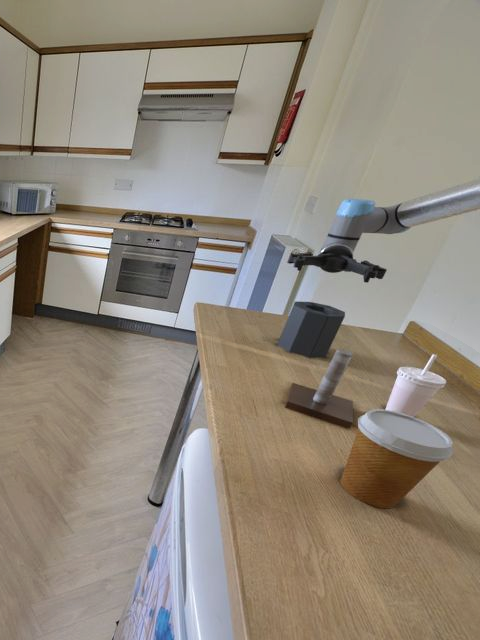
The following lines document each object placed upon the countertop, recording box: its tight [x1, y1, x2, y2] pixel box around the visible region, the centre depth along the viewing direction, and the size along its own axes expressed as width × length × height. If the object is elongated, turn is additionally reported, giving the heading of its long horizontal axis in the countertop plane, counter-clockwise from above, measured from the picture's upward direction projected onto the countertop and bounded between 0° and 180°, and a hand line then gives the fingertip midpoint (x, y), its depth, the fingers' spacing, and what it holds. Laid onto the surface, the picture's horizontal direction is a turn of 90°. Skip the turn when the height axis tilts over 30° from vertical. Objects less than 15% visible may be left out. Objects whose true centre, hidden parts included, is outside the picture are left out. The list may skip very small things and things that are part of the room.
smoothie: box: [384, 353, 447, 418], centre depth 77 cm, size 6×6×14 cm
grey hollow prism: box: [276, 301, 346, 359], centre depth 103 cm, size 10×10×12 cm
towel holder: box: [284, 348, 354, 430], centre depth 79 cm, size 10×10×12 cm
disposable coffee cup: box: [339, 408, 454, 509], centre depth 59 cm, size 10×10×12 cm
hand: (333, 271), depth 104 cm, fingers open, 13 cm apart
